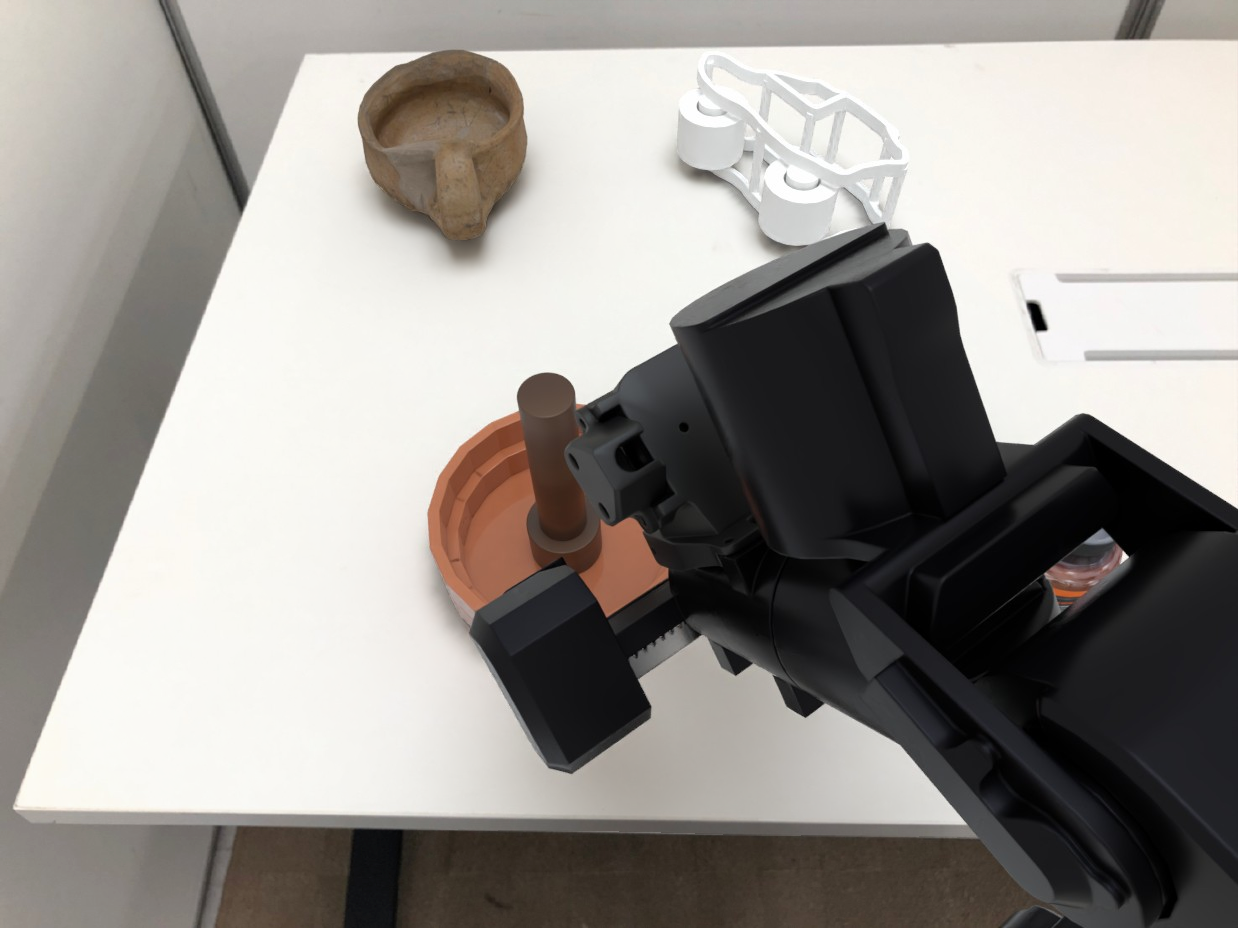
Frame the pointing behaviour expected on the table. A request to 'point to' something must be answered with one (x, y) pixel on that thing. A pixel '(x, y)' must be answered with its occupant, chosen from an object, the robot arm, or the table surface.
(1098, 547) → the supplement bottle
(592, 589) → the mixing bowl
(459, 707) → the table surface
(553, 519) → the pestle
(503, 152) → the tan clay cup
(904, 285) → the robot arm
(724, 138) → the wheeled car silhouette
